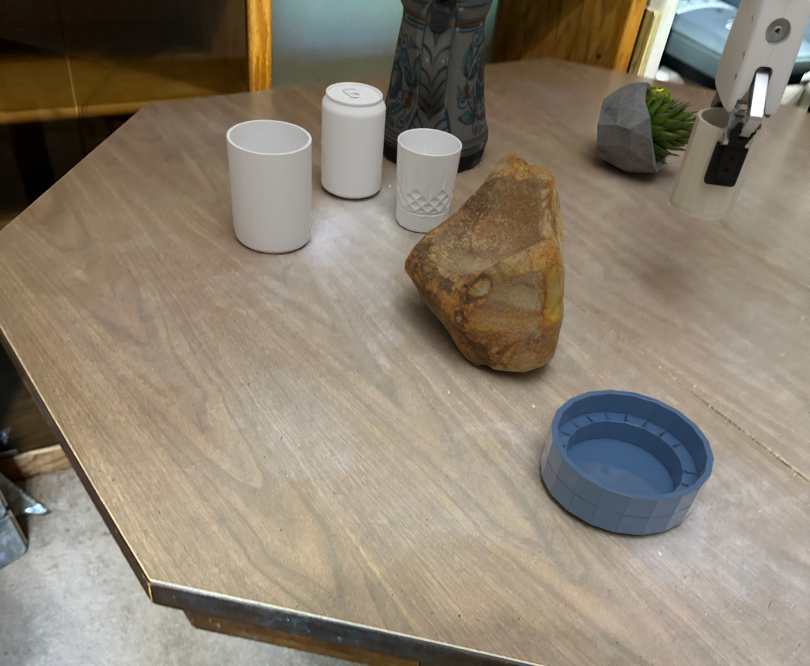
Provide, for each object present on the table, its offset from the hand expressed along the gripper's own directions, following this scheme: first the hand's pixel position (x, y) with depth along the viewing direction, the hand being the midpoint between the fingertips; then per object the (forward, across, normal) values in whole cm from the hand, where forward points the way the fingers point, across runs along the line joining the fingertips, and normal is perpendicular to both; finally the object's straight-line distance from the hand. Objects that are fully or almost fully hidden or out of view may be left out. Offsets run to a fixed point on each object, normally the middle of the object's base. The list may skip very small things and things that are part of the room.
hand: (714, 167), depth 82 cm
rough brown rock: (+15, -12, +23) cm, 30 cm away
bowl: (+15, -34, +8) cm, 39 cm away
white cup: (+15, +10, +32) cm, 36 cm away
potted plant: (+15, +37, +2) cm, 40 cm away
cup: (+4, 0, 0) cm, 4 cm away
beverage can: (+15, +16, +42) cm, 47 cm away
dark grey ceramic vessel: (+15, +30, +32) cm, 47 cm away
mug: (+15, +1, +49) cm, 51 cm away
